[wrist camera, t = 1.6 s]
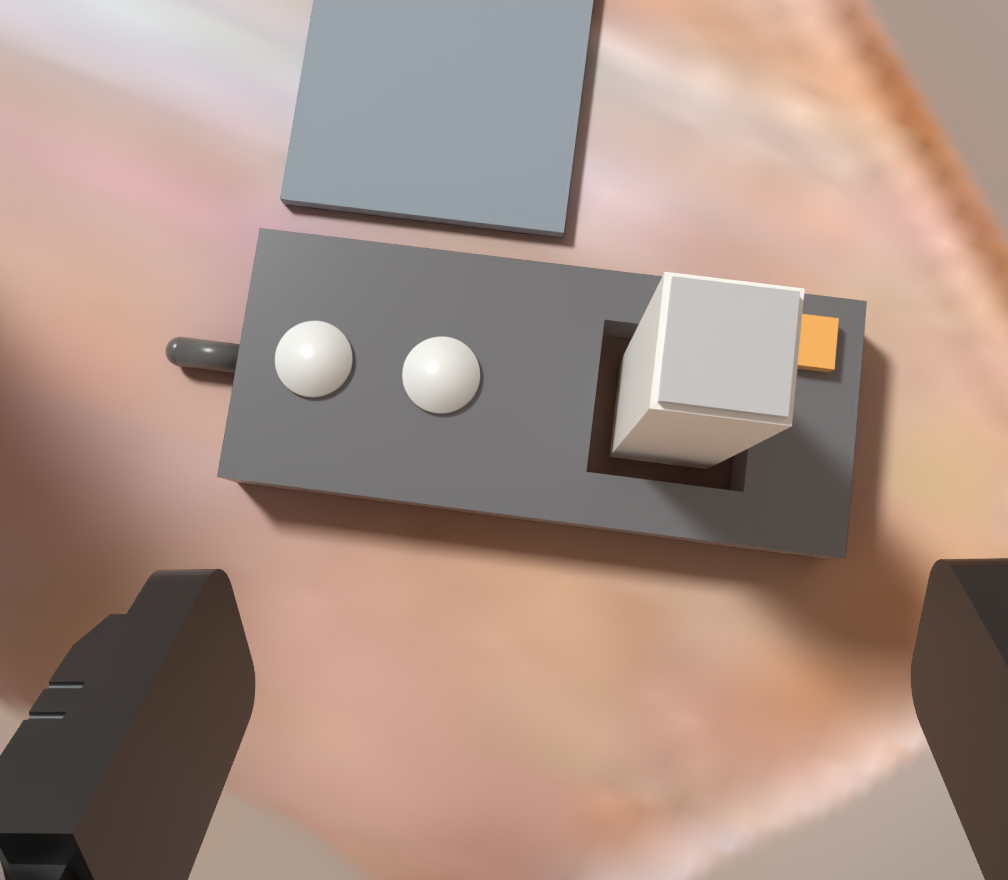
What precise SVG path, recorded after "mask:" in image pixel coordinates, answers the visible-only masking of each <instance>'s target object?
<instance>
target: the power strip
mask: <svg viewBox="0 0 1008 880" xmlns="http://www.w3.org/2000/svg"><path fill="white" fill-rule="evenodd" d="M661 278H662V276H654V275H645V274H637V273H629V272H620V271H612V270H604V269H596V268H587V267H579V266H571V265H562V264H554V263H546V262H538V261H529V260H521V259H513V258H504V257H496V256H488V255H479V254H471V253H463V252H455V251H446V250H438V249H430V248H421V247H413V246H405V245H397V244H388V243H380V242H372V241H363V240H355V239H347V238H339V237H330V236H322V235H314V234H305V233H297V232H289V231H281V230H272V229H264V228H260V230H259V235H258V241H257V247H256V253H255V259H254V265H253V270H252V276H251V282H250V288H249V294H248V300H247V305H246V311H245V317H244V323H243V329H242V335H241V341H240V344H233V343H225V342H217V341H209V340H201V339H193V338H185V337H177V338H174V339H172V340H171V341H170V342H169V343H168V344H167V347H166V356H167V358H168V360H169V361H170V362H171V363H172V364H174V365H177V366H182V367H190V368H198V369H206V370H214V371H222V372H229V373H235V376H234V381H233V387H232V393H231V399H230V405H229V411H228V416H227V422H226V428H225V434H224V440H223V446H222V451H221V457H220V463H219V469H218V475H217V477H220V478H223V479H227V480H230V481H234V482H237V483H245V484H253V485H260V486H268V487H276V488H283V489H291V490H299V491H306V492H314V493H322V494H330V495H337V496H345V497H353V498H360V499H368V500H376V501H383V502H391V503H399V504H406V505H414V506H422V507H429V508H437V509H445V510H452V511H460V512H468V513H475V514H483V515H491V516H498V517H506V518H514V519H521V520H529V521H537V522H544V523H552V524H560V525H567V526H575V527H583V528H590V529H598V530H606V531H613V532H621V533H629V534H636V535H644V536H652V537H659V538H667V539H675V540H682V541H690V542H698V543H706V544H713V545H721V546H729V547H736V548H744V549H752V550H759V551H767V552H775V553H782V554H790V555H798V556H805V557H813V558H821V559H846V547H847V535H848V523H849V511H850V499H851V487H852V474H853V462H854V450H855V438H856V426H857V414H858V402H859V390H860V378H861V366H862V354H863V341H864V329H865V317H866V305H867V301H861V300H852V299H844V298H836V297H828V296H819V295H811V294H804V300H803V311H802V322H801V333H800V344H799V355H798V366H797V376H796V387H795V398H794V409H793V420H792V426H791V427H789V428H787V429H785V430H784V431H782V432H780V433H778V434H776V435H774V436H772V437H770V438H768V439H766V440H764V441H762V442H760V443H758V444H756V445H754V446H752V447H750V448H748V449H746V450H744V451H742V452H740V453H738V454H736V455H734V456H733V464H732V474H731V484H730V490H724V489H717V488H709V487H701V486H693V485H685V484H678V483H670V482H662V481H654V480H646V479H639V478H631V477H623V476H615V475H607V474H600V473H592V472H586V471H587V463H588V454H589V446H590V438H591V429H592V421H593V413H594V404H595V396H596V388H597V379H598V371H599V363H600V354H601V346H602V338H603V336H609V337H618V338H626V339H632V337H633V335H634V333H635V331H636V329H637V327H638V325H639V323H640V321H641V319H642V317H643V315H644V313H645V311H646V309H647V307H648V305H649V303H650V301H651V299H652V297H653V295H654V293H655V291H656V288H657V286H658V284H659V282H660V280H661Z"/></svg>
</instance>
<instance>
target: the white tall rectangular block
mask: <svg viewBox="0 0 1008 880" xmlns="http://www.w3.org/2000/svg"><path fill="white" fill-rule="evenodd" d="M803 300H804V289H803V288H795V287H787V286H778V285H770V284H762V283H754V282H745V281H737V280H729V279H720V278H712V277H704V276H695V275H687V274H679V273H670V272H664V274H663V276H662V278H661V280H660V282H659V284H658V286H657V288H656V291H655V293H654V295H653V297H652V299H651V301H650V303H649V305H648V307H647V309H646V311H645V313H644V315H643V317H642V319H641V321H640V323H639V325H638V327H637V329H636V331H635V333H634V335H633V337H632V339H631V341H630V343H629V345H628V347H627V349H626V351H625V353H624V355H623V357H622V360H621V362H620V369H619V378H618V387H617V395H616V404H615V412H614V421H613V429H612V438H611V446H610V455H609V457H614V458H622V459H630V460H638V461H646V462H654V463H661V464H669V465H677V466H685V467H693V468H701V469H709V468H711V467H713V466H714V465H716V464H718V463H720V462H722V461H724V460H726V459H728V458H730V457H732V456H734V455H736V454H738V453H740V452H742V451H744V450H746V449H748V448H750V447H752V446H754V445H756V444H758V443H760V442H762V441H764V440H766V439H768V438H770V437H772V436H774V435H776V434H778V433H780V432H782V431H784V430H785V429H787V428H789V427H791V426H792V420H793V409H794V398H795V387H796V376H797V366H798V355H799V344H800V333H801V322H802V311H803Z"/></svg>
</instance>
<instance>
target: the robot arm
mask: <svg viewBox="0 0 1008 880" xmlns="http://www.w3.org/2000/svg"><path fill="white" fill-rule="evenodd" d="M911 688H912V696H913V702H914V707H915V711H916V714H917V717H918V720H919V723H920V725H921V728H922V730H923V732H924V735H925V737H926V740H927V742H928V744H929V747H930V749H931V752H932V754H933V756H934V759H935V761H936V763H937V766H938V768H939V771H940V773H941V775H942V778H943V780H944V782H945V785H946V787H947V790H948V792H949V795H950V797H951V799H952V802H953V804H954V806H955V809H956V811H957V814H958V816H959V818H960V821H961V823H962V826H963V828H964V830H965V833H966V835H967V837H968V840H969V842H970V845H971V847H972V850H973V852H974V854H975V857H976V859H977V861H978V864H979V866H980V869H981V871H982V874H983V876H984V878H985V880H1008V558H995V559H940V560H938V561H936V562H935V564H934V565H933V567H932V569H931V572H930V576H929V580H928V585H927V590H926V595H925V600H924V605H923V610H922V615H921V619H920V624H919V629H918V634H917V639H916V644H915V649H914V654H913V659H912V665H911ZM254 697H255V672H254V666H253V661H252V658H251V654H250V650H249V647H248V643H247V639H246V636H245V632H244V629H243V625H242V621H241V618H240V614H239V611H238V607H237V603H236V600H235V596H234V593H233V589H232V585H231V582H230V580H229V578H228V576H227V574H226V573H225V572H224V571H223V570H221V569H195V570H158V571H156V572H154V573H153V574H152V575H151V576H150V577H149V579H148V580H147V582H146V583H145V585H144V587H143V588H142V590H141V591H140V593H139V595H138V596H137V598H136V600H135V601H134V603H133V605H132V606H131V608H130V609H129V611H128V613H127V614H110V615H109V616H108V617H107V618H106V619H104V620H103V621H102V622H101V623H100V624H98V625H97V626H96V627H95V628H94V629H92V630H91V631H90V632H89V633H88V634H86V635H85V636H84V637H83V638H82V639H80V640H79V641H78V642H77V643H76V644H74V645H73V646H72V648H71V649H70V651H69V652H68V654H67V655H66V657H65V658H64V660H63V661H62V663H61V664H60V666H59V667H58V669H57V670H56V672H55V674H54V675H53V677H52V678H51V680H50V681H49V688H48V689H44V690H43V692H42V693H41V695H40V696H39V698H38V699H37V701H36V702H35V704H34V705H33V707H32V708H31V710H30V711H29V714H30V716H29V719H28V720H24V721H23V722H22V724H21V725H20V727H19V728H18V730H17V731H16V733H15V734H14V736H13V737H12V739H11V740H10V742H9V743H8V745H7V746H6V748H5V749H4V751H3V752H2V754H1V756H0V880H188V878H189V875H190V872H191V870H192V867H193V865H194V862H195V859H196V857H197V854H198V852H199V849H200V846H201V844H202V841H203V839H204V836H205V834H206V831H207V829H208V826H209V823H210V821H211V818H212V816H213V813H214V810H215V808H216V805H217V803H218V800H219V798H220V795H221V792H222V790H223V787H224V785H225V782H226V780H227V777H228V774H229V772H230V769H231V767H232V764H233V761H234V759H235V756H236V754H237V751H238V749H239V746H240V743H241V741H242V738H243V736H244V733H245V731H246V728H247V725H248V723H249V720H250V717H251V714H252V710H253V704H254Z"/></svg>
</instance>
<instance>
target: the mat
mask: <svg viewBox="0 0 1008 880" xmlns="http://www.w3.org/2000/svg"><path fill="white" fill-rule="evenodd" d="M592 7H593V0H314V1H313V7H312V13H311V19H310V25H309V31H308V37H307V43H306V49H305V54H304V60H303V66H302V72H301V78H300V84H299V90H298V96H297V102H296V108H295V114H294V120H293V125H292V131H291V137H290V143H289V149H288V155H287V161H286V167H285V173H284V179H283V185H282V190H281V196H280V199H281V201H282V202H283V204H286V205H294V206H303V207H311V208H319V209H328V210H336V211H345V212H353V213H361V214H370V215H378V216H386V217H395V218H403V219H411V220H420V221H428V222H437V223H445V224H453V225H462V226H470V227H478V228H487V229H495V230H503V231H512V232H520V233H528V234H537V235H545V236H554V237H562V238H563V235H564V227H565V220H566V212H567V204H568V196H569V188H570V180H571V172H572V165H573V157H574V149H575V141H576V133H577V125H578V117H579V110H580V102H581V94H582V86H583V78H584V70H585V62H586V55H587V47H588V39H589V31H590V23H591V15H592Z"/></svg>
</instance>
